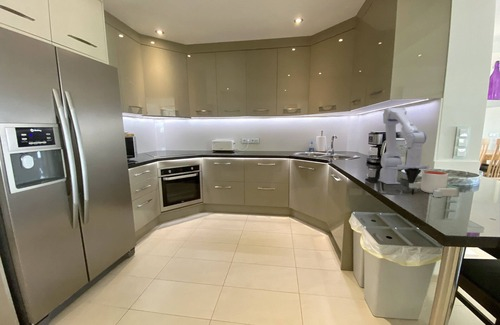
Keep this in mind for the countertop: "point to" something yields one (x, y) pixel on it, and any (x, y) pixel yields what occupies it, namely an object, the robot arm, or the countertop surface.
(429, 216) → the countertop surface
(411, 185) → the clip post
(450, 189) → the end holder
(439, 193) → the clip post
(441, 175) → the cup
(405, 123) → the robot arm
